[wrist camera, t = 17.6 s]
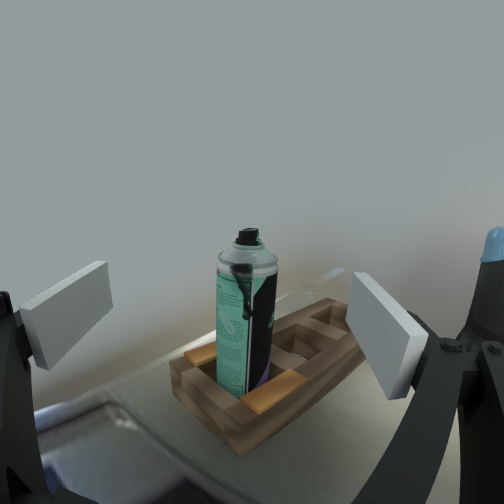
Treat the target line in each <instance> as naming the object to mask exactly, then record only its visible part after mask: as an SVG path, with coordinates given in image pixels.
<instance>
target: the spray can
mask: <svg viewBox="0 0 504 504" xmlns="http://www.w3.org/2000/svg"><path fill="white" fill-rule="evenodd" d="M258 237H259V232H258V229H255V228H247V229H244V230H241V231H239V237H238V238H236V241H234V242H233V246H232V247H230V248H228V249H227V250H225V251H223V252H221V253H219V255H218V258H219V261H218V262H217V300H216V301H217V302H216V304H217V305H216V311H217V312H216V313H217V314H216V325H217V326H216V348H217V384H219V385H220V386H221V387H223V388H224V389H225V390H226V391H228V392H229V393H230V394H232V395H233V396H234V397H236V398H237V399H238V400H240V397H241V396H243V395H245V394H247V393H249V392H251V391H252V390H254V389H256V388H258V387H260V386H261V385H263V384H265V383H266V382H268V373H269V364H270V353H271V343H272V332H273V321H274V310H275V298H276V286H277V273H278V265H277V264H276V262H277V256H276V255H274V254H272V253H271V252H270V251H268V250H267V249H266V248H264V243H262V242H260V241H261V240H260V239H258Z"/></svg>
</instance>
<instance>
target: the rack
mask: <svg viewBox="0 0 504 504" xmlns="http://www.w3.org/2000/svg"><path fill="white" fill-rule="evenodd" d="M347 308H348V305H347V304H344V303H341V302H338V301H335V300H332V299H329V298H324V299H322V300H320V301H318V302H316V303H314V304H311V305H309V306H307V307H305V308H303V309H300V310H298V311H296V312H294V313H291V314H289V315H287V316H285V317H282V318H280V319H278V320H275V321H273V332H272V343H271V353H270V364H269V373H268V382H266V383H265V384H263V385H261V386H260V387H258V388H256V389H254V390H252V391H251V392H249V393H247V394H245V395H243V396H241V397H240V400H238V399H237V398H236V397H234V396H233V395H232V394H230V393H229V392H228V391H226V390H225V389H224V388H223V387H221V386H220V385H219V384H217V348H216V341H215V342H212V343H209V344H207V345H204V346H201V347H198V348H195V349H193V350H190V351H187V352H184V356H183V357H180V358H178V359H175V360H172V361H169V364H170V373H171V381H172V389H173V394H174V396H175V397H176V398H177V399H178V400H179V401H180V402H181V403H182V404H183V405H184V406H185V407H186V408H187V409H188V410H189V411H190V412H191V413H192V414H193V415H194V416H195V417H197V418H198V419H199V420H200V421H201V422H202V423H203V424H204V425H205V426H206V427H207V428H208V429H209V430H210V431H212V432H213V433H214V434H215V435H216V436H217V437H218V438H219V439H221V440H222V441H223V442H224V443H225V444H226V445H227V446H229V447H230V448H231V449H232V450H233V451H235V452H236V453H237V454H238V455H239V456H243V455H244V454H246V453H247V452H249V451H250V450H252V449H254V448H255V447H257V446H258V445H260V444H261V443H263V442H264V441H266V440H267V439H268V438H270V437H271V436H273V435H274V434H276V433H277V432H278V431H280V430H281V429H283V428H284V427H285V426H287V425H288V424H289V423H291V422H292V421H293V420H295V419H296V418H297V417H299V416H300V415H301V414H303V413H304V412H305V411H306V410H308V409H309V408H310V407H311V406H313V405H314V404H315V403H316V402H318V401H319V400H320V399H321V398H322V397H324V396H325V395H326V394H327V393H328V392H330V391H331V390H332V389H333V388H334V387H335V386H337V385H338V384H339V383H340V382H341V381H342V380H343V379H344V378H346V377H347V376H348V375H349V374H350V373H351V372H352V371H353V370H354V369H355V368H356V367H357V366H359V365H360V364H361V363H362V362H363V361H364V360H365V359H366V357H365V355H364V353H363V351H362V349H361V347H360V346H359V344H358V342H357V340H356V338H355V337H354V335H353V333H352V331H351V329H350V328H349V326H348V324H347V322H346V314H347ZM291 352H294V353H296V354H298V355H300V356H302V357H304V358H306V359H308V361H304V360H302V359H300V358H298V357H296V356H294V355H292V354H290V353H291Z"/></svg>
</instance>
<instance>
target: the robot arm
mask: <svg viewBox="0 0 504 504" xmlns="http://www.w3.org/2000/svg"><path fill="white" fill-rule="evenodd" d="M480 261H481V266H480V270H479V275H478V280H477V284H476V289H475V292H474V296H473V300H472V304H471V307H470V310H469V314H468V318H467V321H466V324H465V326H464V327H463V329H462V330H461V332H460V333H459V335H458V336H457V337H456V339H455V340H454V339H450V338H439V337H438V336H437V335H436V334H435V333H434V332H433V331H432V330H431V329H430V328H429V327H428V326H427V325H426V324H425V323H423V321H422V320H421V319H420V318H419V317H418V316H417V315H415V314H413V313H411V312H409V311H405V310H404V309H403V308H402V307H401V306H400V305H399V304H398V303H397V302H396V301H395V300H394V299H393V298H392V297H391V296H390V295H389V294H388V293H387V292H386V291H385V290H384V289H383V288H382V287H381V286H380V285H379V284H378V283H377V282H376V281H375V280H374V279H373V278H372V277H371V276H369V275H368V274H367V273H363V272H360V273H359V272H353V275H352V282H351V290H350V296H349V302H348V308H347V314H346V322H347V324H348V326H349V328H350V329H351V331H352V333H353V335H354V337H355V338H356V340H357V342H358V344H359V346H360V347H361V349H362V351H363V353H364V355H365V357H366V359H367V360H368V362H369V364H370V366H371V368H372V370H373V372H374V374H375V375H376V377H377V379H378V381H379V383H380V385H381V387H382V389H383V391H384V393H385V395H386V397H387V399H388V400H393V399H400V398H406V396H407V394H408V391H409V389H410V386H411V385H412V387H413V388H414V390H415V393H414V395H413V398H412V400H411V402H410V404H409V406H408V409H407V411H406V413H405V415H404V417H403V419H402V421H401V423H400V425H399V427H398V429H397V431H396V433H395V435H394V437H393V438H392V440H391V442H390V444H389V446H388V448H387V449H386V451H385V453H384V455H383V456H382V458H381V460H380V461H379V463H378V465H377V466H376V468H375V469H374V471H373V473H372V474H371V476H370V477H369V479H368V480H367V482H366V483H365V485H364V486H363V488H362V489H361V491H360V492H359V494H358V495H357V496H356V498H355V499H354V500H353V502H352V503H351V504H425V503H426V500H427V498H428V496H429V493H430V491H431V489H432V486H433V484H434V481H435V478H436V476H437V473H438V470H439V467H440V465H441V462H442V459H443V456H444V453H445V449H446V446H447V443H448V439H449V436H450V432H451V428H452V425H453V421H454V416H455V412H456V408H457V411H458V421H459V435H460V464H461V470H460V498H459V504H504V227H495V228H493V229H491V230H490V231H489V232H488V234H487V237H486V241H485V246H484V250H483V255H482V257H481V259H480ZM112 308H113V304H112V297H111V291H110V283H109V274H108V264H107V262H105V261H95V262H94V263H92V264H90V265H88V266H86V267H85V268H83V269H81V270H79V271H78V272H76V273H74V274H72V275H71V276H69V277H67V278H66V279H64V280H62V281H60V282H59V283H58V284H55V285H54V286H52V287H50V288H49V289H47V290H46V291H44V292H42V293H41V294H39V295H38V296H36V297H34V298H33V299H31V300H29V301H28V302H26V303H25V304H23V305H22V306H20V307H19V310H18V311H17V312H15V313H13V308H12V304H11V300H10V296H9V293H8V292H5V291H1V292H0V504H99V503H97V502H95V501H93V500H90V499H88V498H85V497H83V496H80V495H78V494H76V493H74V492H71V491H69V490H67V489H65V488H63V487H60V486H59V488H58V489H57V491H56V493H55V494H51V493H50V491H49V489H48V486H47V483H46V479H45V475H44V471H43V466H42V462H41V457H40V452H39V446H38V440H37V434H36V427H35V420H34V411H33V401H32V385H31V366H30V363H29V360H28V358H29V357H30V356H32V355H33V357H34V360H35V362H36V365H37V367H40V368H43V369H46V370H50V369H51V368H52V367H53V366H54V365H55V364H56V363H57V362H58V361H59V360H60V359H61V358H62V357H63V356H64V355H65V354H66V353H67V352H68V351H69V350H70V349H71V348H72V347H73V346H74V345H75V344H76V343H77V342H78V341H79V340H80V339H81V338H82V337H83V336H84V335H85V334H86V333H87V332H88V331H89V330H90V329H91V328H92V327H93V326H94V325H95V324H96V323H97V322H98V321H99V320H100V319H101V318H102V317H103V316H104V315H106V314H107V313H108V312H109V311H110V310H111V309H112Z"/></svg>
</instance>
